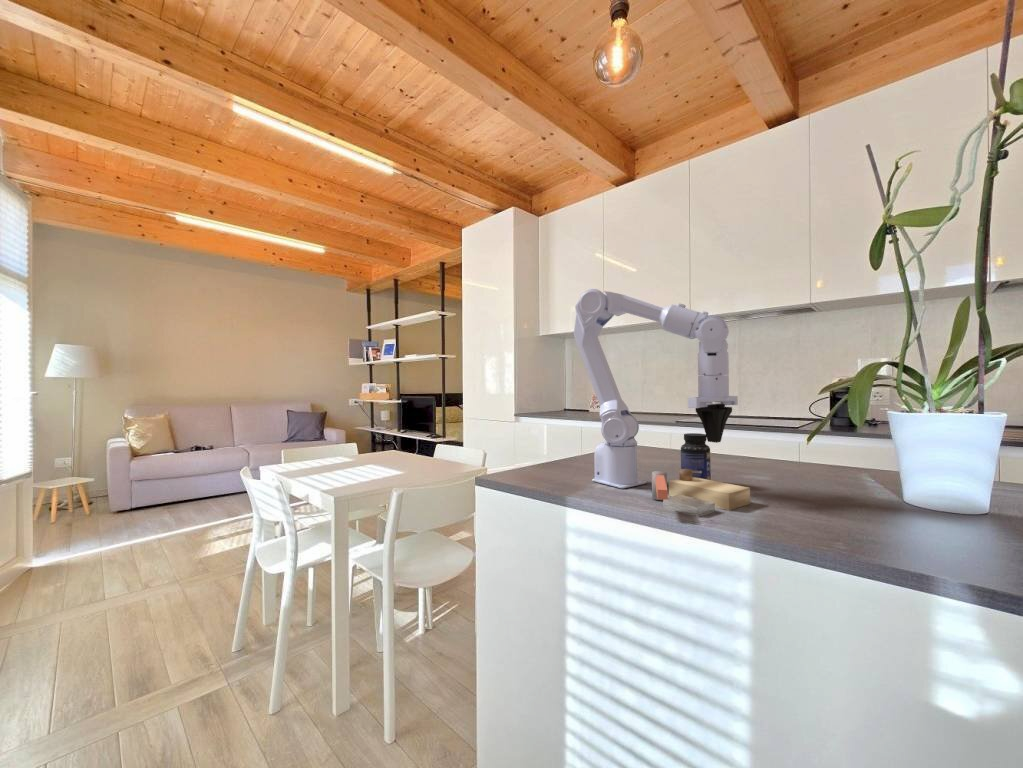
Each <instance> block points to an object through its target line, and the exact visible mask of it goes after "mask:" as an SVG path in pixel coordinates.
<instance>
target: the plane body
mask: <svg viewBox="0 0 1023 768" xmlns="http://www.w3.org/2000/svg"><path fill="white" fill-rule="evenodd" d="M678 473H679V478H675V479H671V480H668V497H672V496H676V495H684V496H689V497H693V498H697V499H701V500H705V501H709V502H714V503H715V509H716V508H718V509H720V510H721V509H722V510H725V511H732V510H735V509H738V508H741V507H745V506H748V505H750V504H751V487H748V486H742V485H737V484H732V483H727V482H722V481H716V480H712V479H711V480H707V479H702V478H696V477H692V470H691V469H681V468H680V469H679V472H678Z"/></svg>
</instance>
